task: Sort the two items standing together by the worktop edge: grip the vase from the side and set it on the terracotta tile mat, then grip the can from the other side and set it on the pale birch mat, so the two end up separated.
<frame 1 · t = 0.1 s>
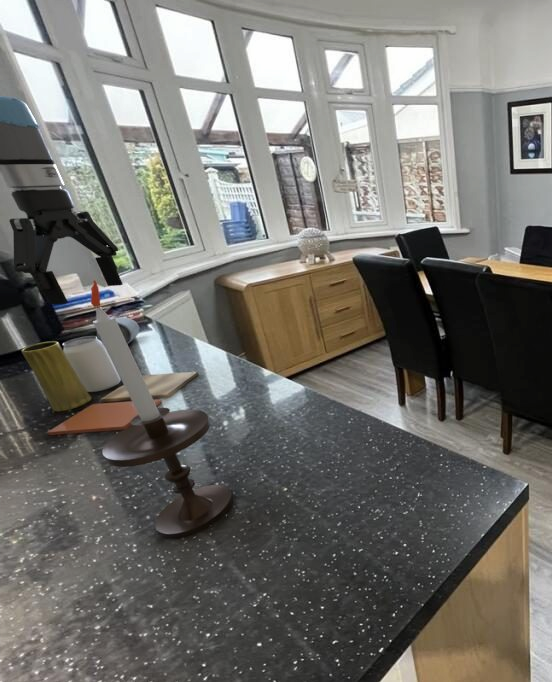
hand: (89, 293, 85), 23 cm above the kitchen counter, tool pointing down, fingers open, 13 cm apart
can: (104, 386, 95), on the kitchen counter
ceramic mug: (119, 344, 119), on the kitchen counter
birch mat: (153, 387, 93), on the kitchen counter
vase: (73, 405, 87), on the kitchen counter
candlestick: (197, 513, 58), on the kitchen counter
terracotta mat: (109, 417, 82), on the kitchen counter
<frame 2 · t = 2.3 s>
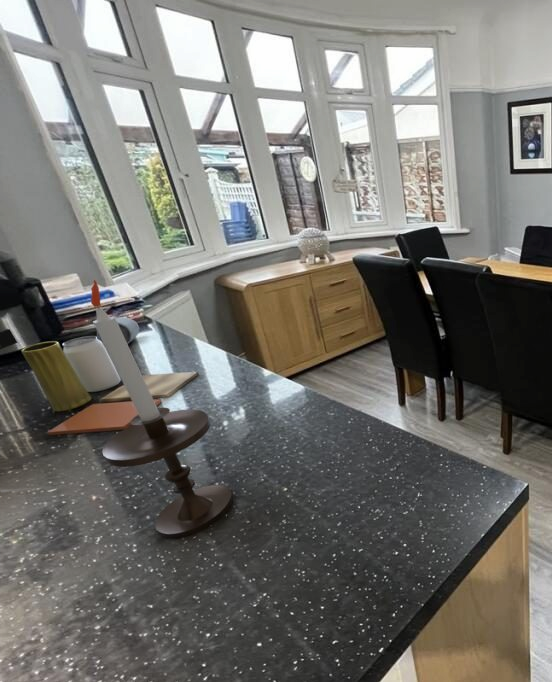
nothing on the kitchen counter moved.
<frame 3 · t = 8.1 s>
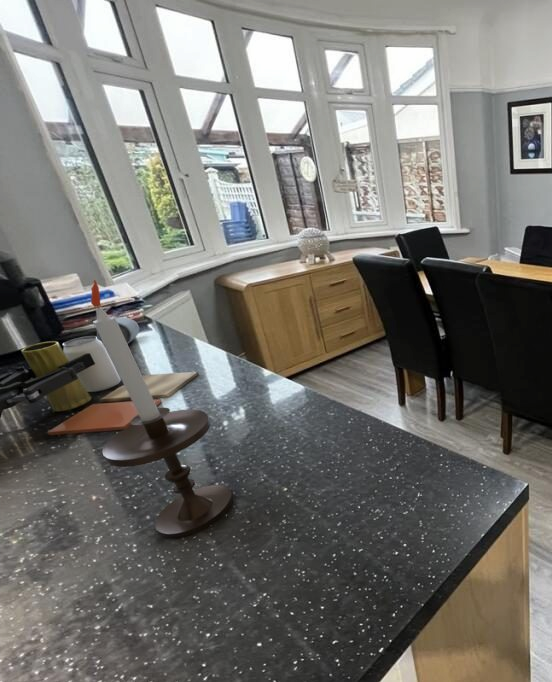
hand: (76, 359, 89), 9 cm above the kitchen counter, tool horizontal, fingers closed on vase, 5 cm apart
vase: (73, 405, 87), on the kitchen counter, touching gripper
everything else where it was.
when the fingers open (9 cm above the kitchen counter, at t = 18.2 s): vase stays where it is, resting on terracotta mat.
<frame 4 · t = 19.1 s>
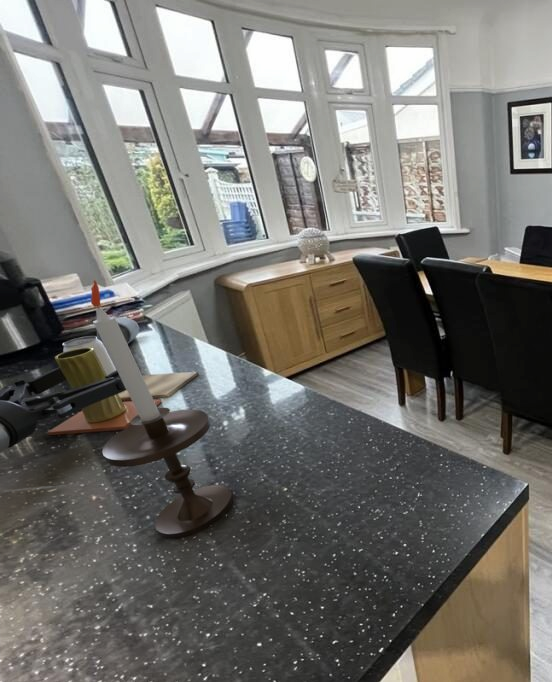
hand: (101, 369, 81), 10 cm above the kitchen counter, tool horizontal, fingers open, 13 cm apart
vase: (107, 415, 82), point 1 cm above the kitchen counter, touching terracotta mat
everything else where it was.
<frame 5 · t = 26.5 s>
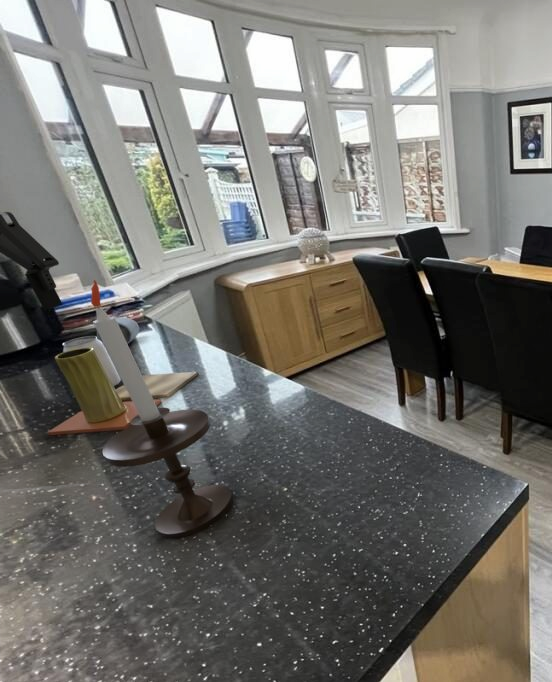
hand: (13, 309, 70), 25 cm above the kitchen counter, tool pointing down, fingers open, 13 cm apart
nothing on the kitchen counter moved.
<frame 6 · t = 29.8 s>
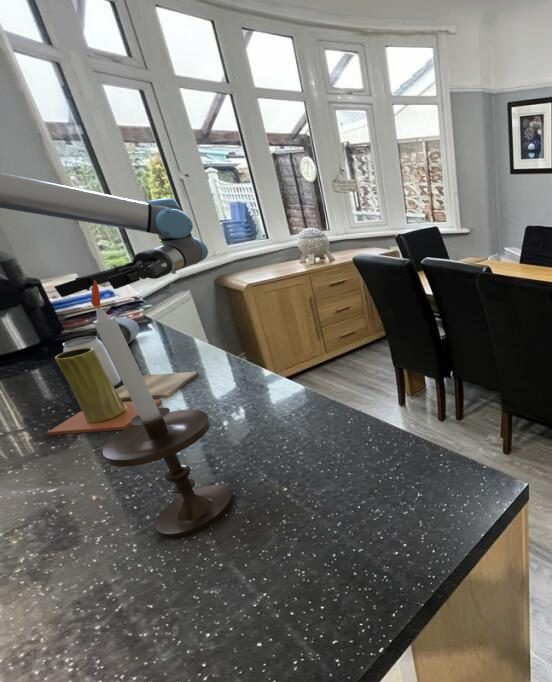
hand: (85, 287, 92), 23 cm above the kitchen counter, tool horizontal, fingers open, 13 cm apart
nothing on the kitchen counter moved.
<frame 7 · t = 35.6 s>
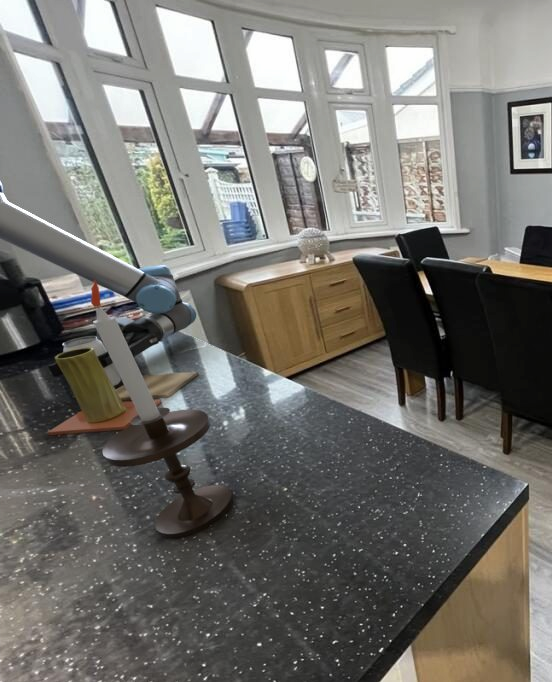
hand: (70, 370, 87), 7 cm above the kitchen counter, tool horizontal, fingers closed on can, 6 cm apart
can: (104, 386, 95), on the kitchen counter, touching gripper
everything else where it was.
when the fingers open (8 cm above the kitchen counter, at t = 42.7 s): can stays where it is, resting on birch mat.
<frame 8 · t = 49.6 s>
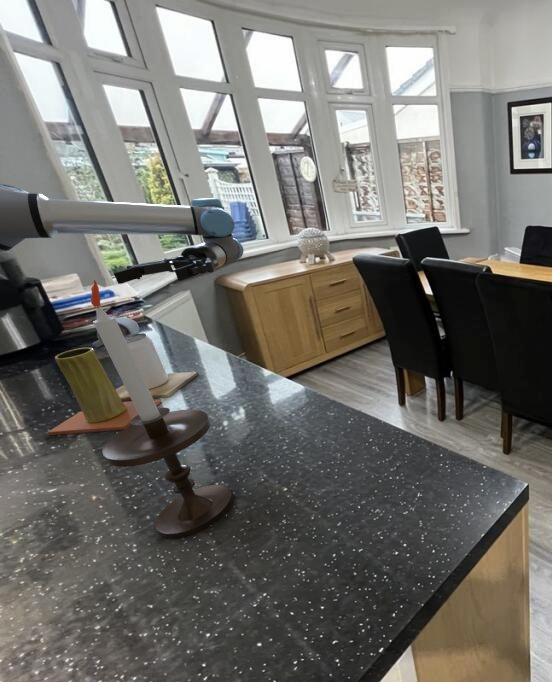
hand: (147, 276, 94), 24 cm above the kitchen counter, tool horizontal, fingers open, 13 cm apart
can: (152, 385, 93), point 1 cm above the kitchen counter, touching birch mat
everything else where it was.
at the end: vase inside the target area on the terracotta mat (0.1 cm from its centre), point 0.6 cm above the terracotta mat's base; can inside the target area on the birch mat (0.0 cm from its centre), point 0.6 cm above the birch mat's base; vase tilted 0° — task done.
